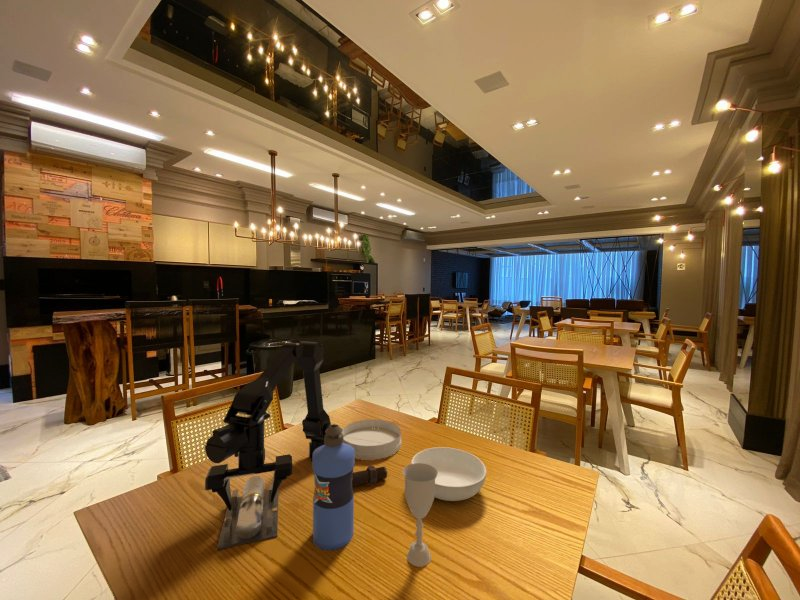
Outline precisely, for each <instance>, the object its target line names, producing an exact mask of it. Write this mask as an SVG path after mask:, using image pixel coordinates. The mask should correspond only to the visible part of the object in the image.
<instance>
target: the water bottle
mask: <svg viewBox="0 0 800 600" xmlns="http://www.w3.org/2000/svg"><path fill="white" fill-rule="evenodd" d="M342 429H343V428H341V427H340V426H339V425H338V424H336V423H333V424H331V425H330V426H329V428H328V429H327V430H326V431H325V433H326V435H325V436H324V444H325V445H322V446H320V447H318V448H317V449H315V450H314V452H313V455H312V462H311V463H312V467H311V468H312V473H313V477H314V478H313V480H314V493H313V499H312V542H313V543H314V545H315V546H316V548H318V549H320V550H324V551H336V550H339V549H342V548H343V547H346V546H347V545H348V544H350V542H351V541H352V539H353V537H354V531H355V530H354V524H355V523H354V520H355V519H354V516H355V515H354V512H355V511H354V509H355V507H354V505H355V504H354V503H355V502H354V501H355V500H354V499H355V497H354V489H353V485H352V477H353V472H354V468H355V464H356V462H355V460H356V459H355V450H354V448H353V447H352V446H351V445H348V444H345V443H343V434H342V431H343V430H342Z"/></svg>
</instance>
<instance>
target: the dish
mask: <svg viewBox="0 0 800 600" xmlns="http://www.w3.org/2000/svg"><path fill="white" fill-rule="evenodd" d="M372 428H373V429H372ZM374 428H375V429H374ZM378 428H379V429H378ZM341 429H342V430H343V431H342V434H343V443H345V444H348V445H351V446H352V447H353V448H354V450H355V458H357V459H356V460H358V459H363V460H362V461H372V460H371V459H378V460H382V459H381V458H384V459H386V458H385V457H387V458H389V457H388V456H390V455H392V454H393V455H395V454H397V453H398V452H399V451H398V450H399V449H400V450H401V448H400V447H402V430H401V428H400V426H398V425H397V424H396V423H394V422H391V421H388V420H383V419H363V420H357V421H353V422H351V423H349V424H347V425H345V426H344V427H342V428H341ZM397 451H398V452H397ZM396 452H397V453H396ZM394 453H395V454H394ZM393 455H392V456H393ZM390 457H391V456H390Z"/></svg>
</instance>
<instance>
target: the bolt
mask: <svg viewBox="0 0 800 600" xmlns="http://www.w3.org/2000/svg"><path fill="white" fill-rule="evenodd" d="M386 478H388V469H387V468H386V466H379V467H375V466H374V465H372V464H371V465H368V466H367V467H366V469H365V470H361V471H360V470H359V471H355V472H354V471H353V477H352V486H355V485H362V484H365V483H366V484H367V483H368V485H369V486H372V485H376V483H377V481H379V480H385V479H386Z"/></svg>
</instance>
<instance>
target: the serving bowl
mask: <svg viewBox="0 0 800 600" xmlns="http://www.w3.org/2000/svg"><path fill="white" fill-rule="evenodd" d="M415 463H422V464H427V465H430V466H432V467H434V468H435V469H436V470H437V472H438V474H437V477H436V479H435V497H434V499H435V498H436V499H439V500H441V501H442V500H443V501H448V502H449V501H450V502H458V501H464V500H467V499H469V498H473V497H474V496H475V495H476V494H478V493H479V492H480V491H481V489H482V488H483V487H484V484H485V482H486V478H487V477H486V476H487V467H486V465H485V464H484V463H483V461H482V460H481V459H479V458H478V456H476V455H474V454H472V453H470V452H468V451H466V450H462V449H458V448H454V447H447V446H445V447H444V446H443V447H442V446H440V447H439V446H437V447H431V448H425V449H422V450H421V451H419V452H417V453H416V454H415V455H414V456H413V457H412V458H411V461H410V464H415Z"/></svg>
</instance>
